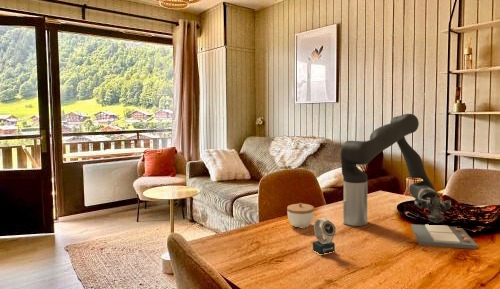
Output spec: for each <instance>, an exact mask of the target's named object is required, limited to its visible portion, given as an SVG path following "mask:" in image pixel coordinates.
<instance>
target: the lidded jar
mask: <svg viewBox="0 0 500 289" xmlns="http://www.w3.org/2000/svg"><path fill="white" fill-rule="evenodd" d="M286 212H287V218H288V221H289V223H290V225H292V226H295V227H302V228H303V229H305V228H304V227H307V228H309V227H308V226H310V225H311V224H312V223H313V220H314V215H315V207H314V206H313V205H311V204H308V203H302V202H299V203H293V204H289V205H287V208H286ZM295 227H294V228H295Z"/></svg>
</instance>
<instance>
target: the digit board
mask: <svg viewBox="0 0 500 289" xmlns="http://www.w3.org/2000/svg"><path fill="white" fill-rule="evenodd" d="M410 225H411V226H410V227H411V230H412V232H413V234H414V236H415V239H416V241H417V243H418V245H419V246H425V247H426V246H429V247H442V248H443V247H444V248H454V249H455V248H458V249H472V250H478V244H477V243H476V242H475V241H474V240H473V238H472V237H471V236H469V234H468V233H467V231H466V230H465V229H464V228H457V227H458V226H450V225H445V224H443V225H429V224H428V223H427V224H413V223H412V224H410Z"/></svg>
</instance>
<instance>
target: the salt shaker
mask: <svg viewBox="0 0 500 289" xmlns="http://www.w3.org/2000/svg"><path fill="white" fill-rule="evenodd" d="M440 198H441V197H440ZM440 198H439V197H437V195H435V197H433V198H432V206H433V211H430V213H428V214H427V217H428V220H429V221H430V222H434V223H440V222H441V223H442V222H444V219H445V215H443V214H442V213H441V212H442V211H441V209H440V208H441V206H440Z"/></svg>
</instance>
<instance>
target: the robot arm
mask: <svg viewBox="0 0 500 289" xmlns="http://www.w3.org/2000/svg"><path fill="white" fill-rule="evenodd" d="M419 124H420V123H419V119H418V117H417V115H415V114H414V113H413V114H412V113H405V114H401V115H397V116H394V117H392V118H391V120H390V122H389V123H387V124H384V125H382V126H379V127H378V128H376V129H374V130H373V131H371V134H370V136H369V140H345V141H344V142H343V143H342V145H341V149H340V160H341V161H340V164H341V175H342V179H343V181H342V182H343V201H342V202H343V208H342V209H343V213H342V214H343V225H349V226H353V227H357V226H358V227H362V226H366V225H368V218H369V217H368V174H367V173H366V172H364V171H362V170H361V169H359V168H358V166H357V165H361V166H362V165H366V164H369V163H370V162H371V161H372V160H373V159H374V158H375V157H377V156H378V155H379V154H380V153H382V152H383V151H385V150H386V149H387V148H390V147H391V146H393V145H394V144H395V143H397V145H398V148H399V150H400V152H401V154H402V156H403V159H404V161H405V164H406V169H407V172H408V176H409V177H410V178H412V179H421V180H422V181H417V182H414V183H413V182H412V183H411V184H410V185H409V188H408V190H409V193H410V195H411V196H412V197H413V198H414V206H416V207H417V208H420V209H426V210H427V211H429V212H432V211H433V206H432V198H433V197H435V195H437V197H439V198H440V206H441V208H440V212H442V213H445V212H446V211H448V210H450V208H451V207H452V205H451V204H452V200H451V199H447V200H445V201H444V199H442V198H441V196H440V195H439V194H438V193H437V192H436V191H435V185H434V184H433V182H432V181H431V180H430V178H429V177H428V175H427V172H426V170H425V167H424V163H423V159H422V158H421V156H420V154H419V152H417V151H416V150H415V149H414V148H413V147H412V146H411V145H410V144H409V143H408V142H407V141H408V140H407V139H406V137H405V136H408V135H411V134H413V133H415V132H416V131H417V130H418V128H419Z"/></svg>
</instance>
